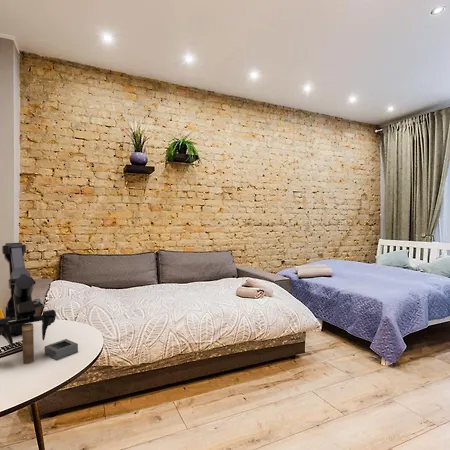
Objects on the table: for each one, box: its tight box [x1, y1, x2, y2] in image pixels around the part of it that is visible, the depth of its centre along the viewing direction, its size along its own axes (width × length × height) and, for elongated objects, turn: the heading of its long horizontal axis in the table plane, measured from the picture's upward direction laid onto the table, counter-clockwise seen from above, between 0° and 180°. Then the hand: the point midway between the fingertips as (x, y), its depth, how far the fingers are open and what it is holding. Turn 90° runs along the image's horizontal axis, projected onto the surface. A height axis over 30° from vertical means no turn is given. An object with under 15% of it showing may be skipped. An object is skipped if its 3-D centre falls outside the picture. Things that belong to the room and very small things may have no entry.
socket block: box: [44, 338, 79, 361], centre depth 116 cm, size 8×8×3 cm
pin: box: [21, 322, 35, 365], centre depth 109 cm, size 3×3×13 cm
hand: (28, 343), depth 108 cm, fingers open, 9 cm apart
